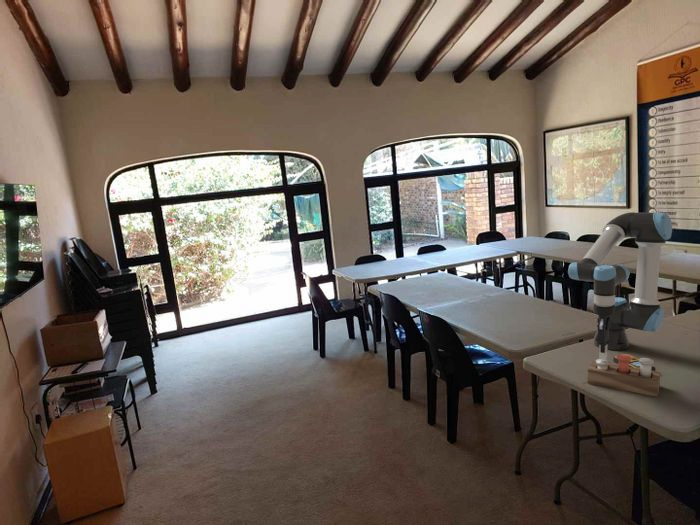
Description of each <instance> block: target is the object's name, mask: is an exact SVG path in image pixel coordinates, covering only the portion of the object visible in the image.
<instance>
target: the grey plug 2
mask: <svg viewBox="0 0 700 525" xmlns="http://www.w3.org/2000/svg"><path fill="white" fill-rule="evenodd" d="M638 359H639V363H641V365H640V376H643V377H649V378H651V366H653V365H654V360H653V359H652V358H648V357H640V358H638Z"/></svg>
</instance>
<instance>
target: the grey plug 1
mask: <svg viewBox="0 0 700 525" xmlns="http://www.w3.org/2000/svg"><path fill="white" fill-rule="evenodd" d="M595 361H596V364H597V365H598V369H603V370H608V365H609V363H610V361H609V360H608V359H607V360H602V359H599V358H597V359H596V360H595Z"/></svg>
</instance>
